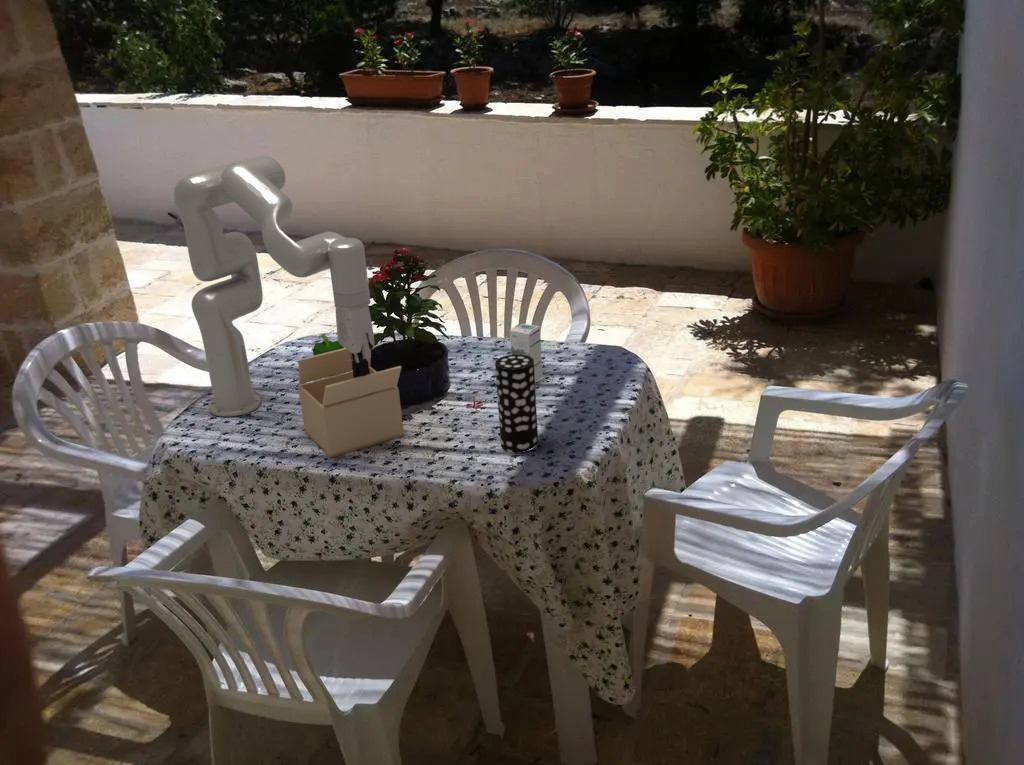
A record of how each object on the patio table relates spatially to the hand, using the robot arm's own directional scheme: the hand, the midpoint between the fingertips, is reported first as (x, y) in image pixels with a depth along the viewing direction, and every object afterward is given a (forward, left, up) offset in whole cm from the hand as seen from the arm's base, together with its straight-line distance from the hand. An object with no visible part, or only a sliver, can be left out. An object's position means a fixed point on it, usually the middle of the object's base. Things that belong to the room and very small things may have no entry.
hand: (361, 377), depth 228 cm
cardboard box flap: (-1, 0, -2) cm, 2 cm away
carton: (-10, 0, -18) cm, 20 cm away
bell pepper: (-49, +10, -18) cm, 53 cm away
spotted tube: (+18, +28, -18) cm, 38 cm away
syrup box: (-11, +48, -18) cm, 52 cm away
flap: (-16, 0, -2) cm, 16 cm away
